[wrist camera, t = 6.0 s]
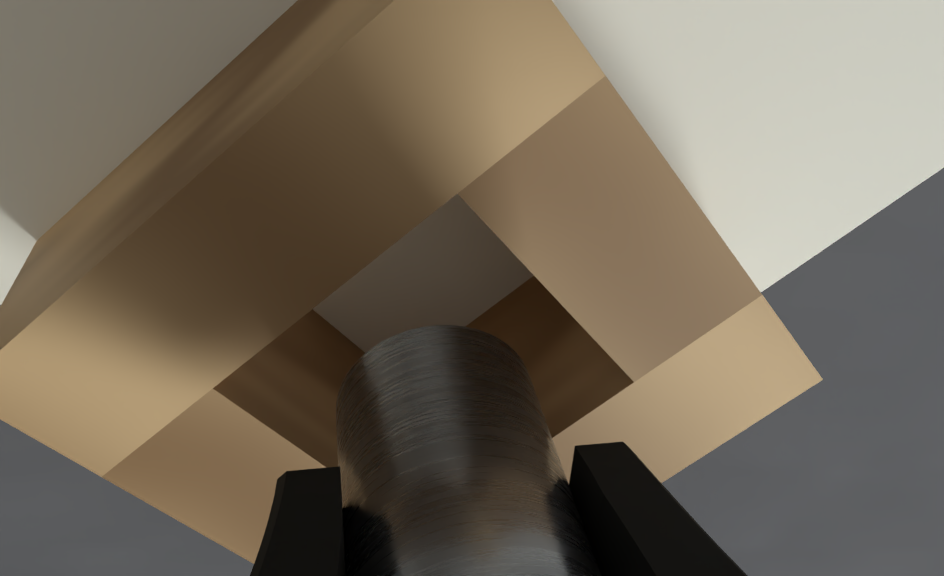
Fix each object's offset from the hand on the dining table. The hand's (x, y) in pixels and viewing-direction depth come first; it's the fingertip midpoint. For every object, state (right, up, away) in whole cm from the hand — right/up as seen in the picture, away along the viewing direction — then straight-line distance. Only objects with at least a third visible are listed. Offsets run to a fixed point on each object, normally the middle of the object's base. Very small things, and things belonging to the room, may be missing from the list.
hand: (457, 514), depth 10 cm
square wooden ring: (-1, +4, +5) cm, 6 cm away
